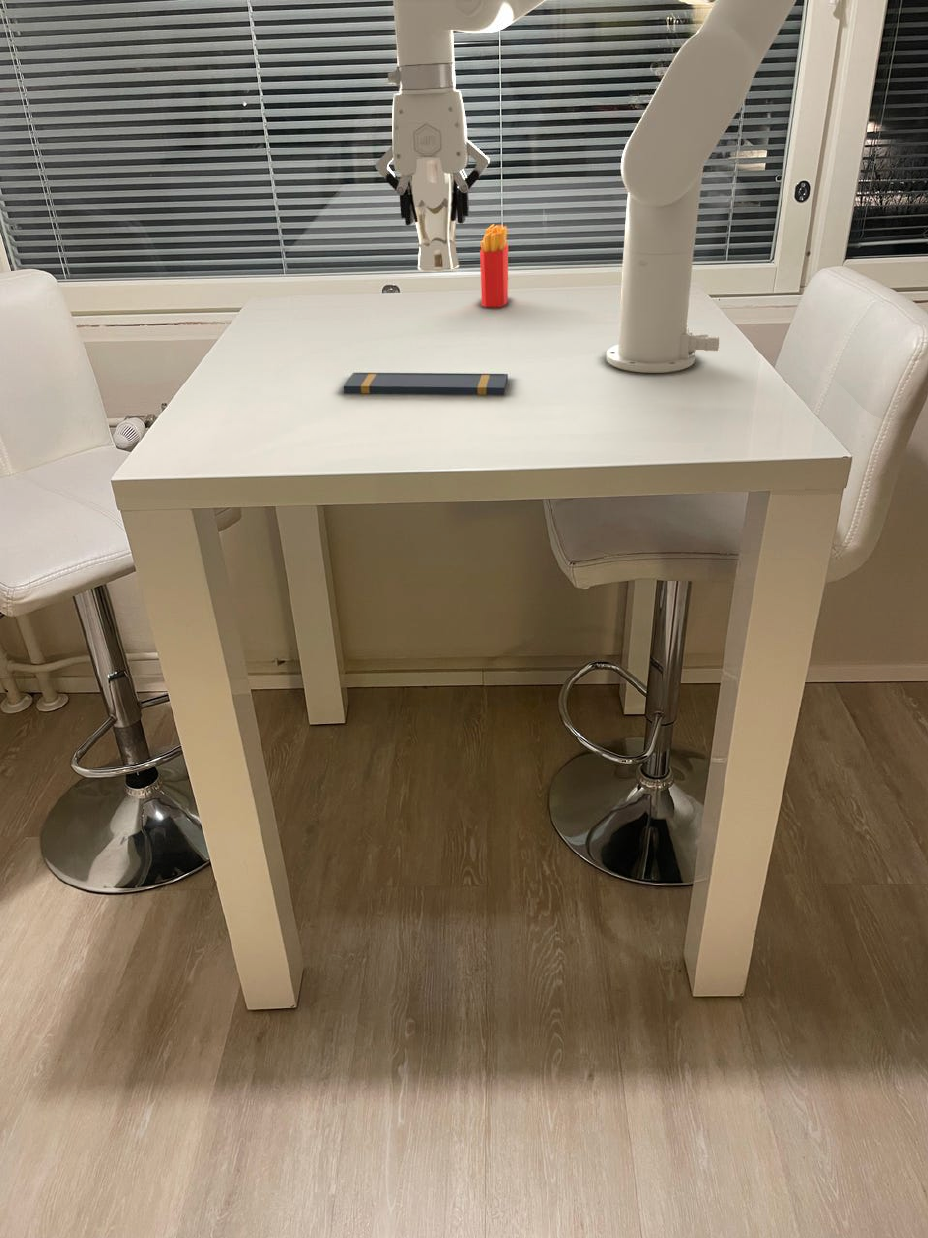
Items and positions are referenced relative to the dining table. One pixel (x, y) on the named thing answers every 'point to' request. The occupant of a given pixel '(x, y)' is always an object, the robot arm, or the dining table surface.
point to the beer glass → (434, 215)
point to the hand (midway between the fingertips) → (435, 221)
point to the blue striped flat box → (427, 383)
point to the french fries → (494, 267)
